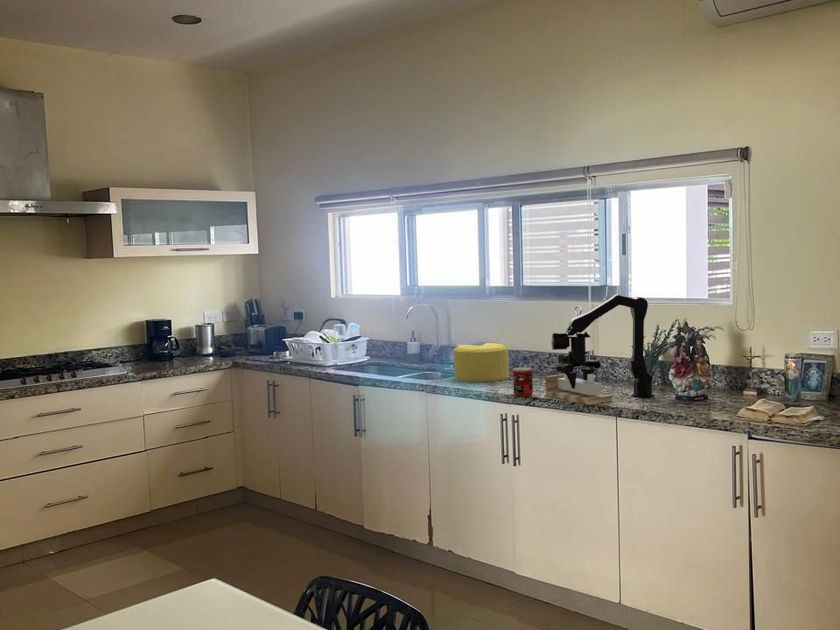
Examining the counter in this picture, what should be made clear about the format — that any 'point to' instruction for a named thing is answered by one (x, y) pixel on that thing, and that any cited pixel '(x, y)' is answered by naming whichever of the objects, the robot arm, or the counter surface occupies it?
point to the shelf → (572, 393)
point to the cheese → (481, 362)
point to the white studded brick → (581, 385)
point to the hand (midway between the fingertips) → (579, 387)
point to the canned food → (522, 381)
